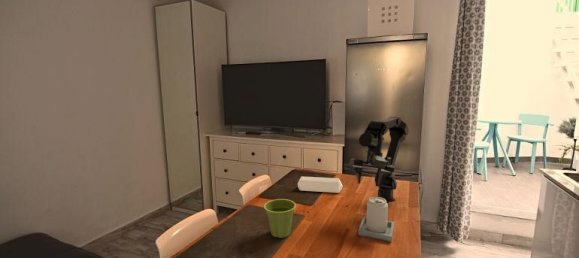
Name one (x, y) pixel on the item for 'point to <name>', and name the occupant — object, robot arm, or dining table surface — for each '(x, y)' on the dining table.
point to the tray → (380, 236)
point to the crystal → (320, 184)
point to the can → (377, 214)
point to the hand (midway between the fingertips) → (368, 185)
